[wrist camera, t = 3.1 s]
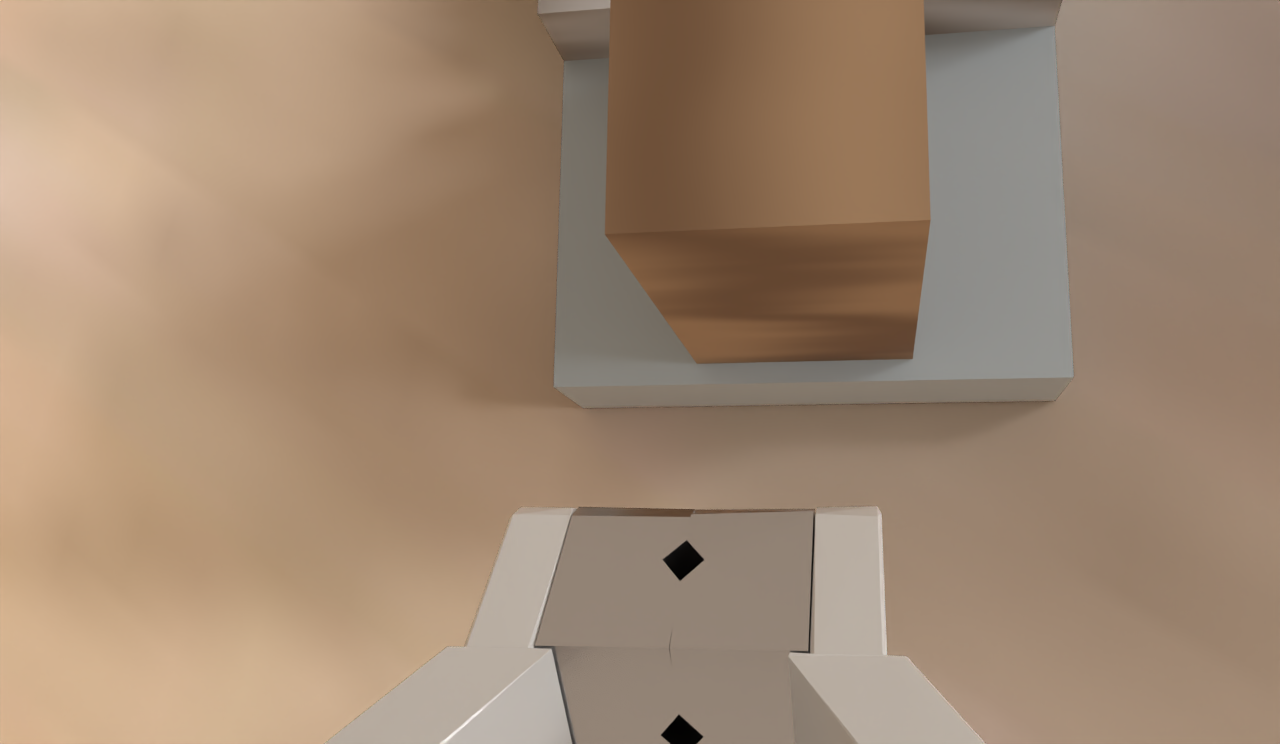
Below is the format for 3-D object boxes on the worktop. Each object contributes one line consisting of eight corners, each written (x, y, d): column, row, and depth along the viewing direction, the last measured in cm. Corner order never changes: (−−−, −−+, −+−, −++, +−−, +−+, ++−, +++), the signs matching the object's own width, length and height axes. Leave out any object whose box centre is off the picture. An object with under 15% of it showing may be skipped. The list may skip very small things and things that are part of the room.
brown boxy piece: (1052, -13, 29) (1139, -331, 19) (1072, 355, 27) (1179, 209, 17) (565, 25, 31) (424, -242, 21) (553, 367, 29) (395, 243, 20)
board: (1025, -176, 33) (1039, -252, 30) (1054, 401, 30) (1073, 377, 27) (597, -132, 35) (572, -199, 32) (582, 408, 32) (553, 387, 29)
